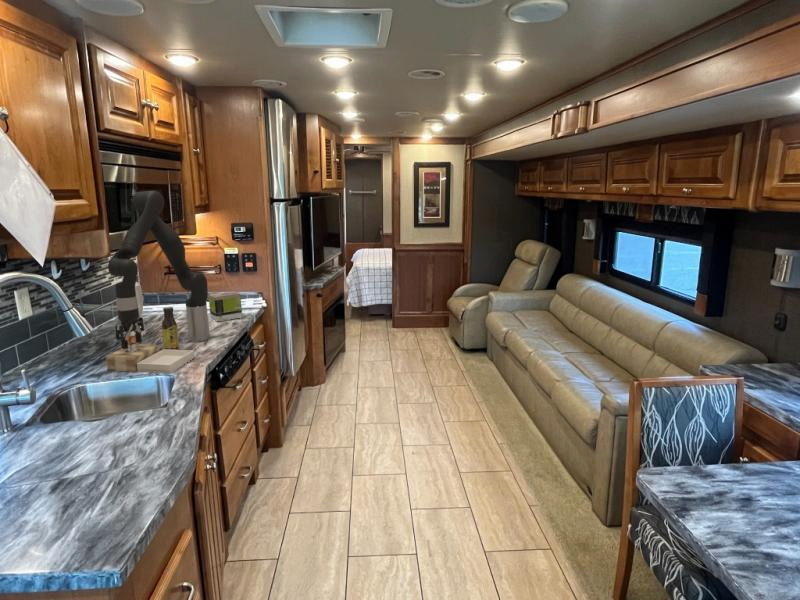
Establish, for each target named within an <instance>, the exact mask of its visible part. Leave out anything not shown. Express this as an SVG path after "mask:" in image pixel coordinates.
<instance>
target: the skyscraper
mask: <svg viewBox="0 0 800 600" xmlns="http://www.w3.org/2000/svg"><path fill="white" fill-rule="evenodd" d="M135 291H136V298H137V302H138V310H139V317H140V318H143V311H144V296H143V291H142V286H141V284H140V283H139V282H138V281H136V283H135ZM143 319H144V318H143ZM143 323H144V331H142V333H141V335H142V336H144V335H146V334H145V333H147V332H148V331H147V328H146V325H145V321H144V320H143ZM140 328H141V326H140ZM135 334H136V333H135V332H134V331H132V332H130V336H135ZM143 334H144V335H143Z"/></svg>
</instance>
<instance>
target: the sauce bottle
mask: <svg viewBox="0 0 800 600" xmlns="http://www.w3.org/2000/svg"><path fill="white" fill-rule="evenodd" d="M162 311H163V317H164V318H163V320H162V322H161V327H162V328H161V331H162V333H161V334H162V343H163V344H162V345H163V349H170V350H179V347H180V345H179V334H178V323H177V321H176V319H175V317H174V316H175V315H174V307H173V306H165V307H163V308H162Z"/></svg>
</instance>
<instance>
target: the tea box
mask: <svg viewBox="0 0 800 600" xmlns="http://www.w3.org/2000/svg"><path fill="white" fill-rule="evenodd" d="M208 302H209V305H208V306H209V313H210V319H211V318H212V319H213V320H215V321H222V322H224V321H223V320H228V321H230V320H229V319H234V318H239V317H242V318H243V309H242V297H241V293H239V292H237V291H233V290H232V291H226V292H219V293H213V294H211V293H210V294H208ZM212 319H211V320H212ZM213 320H212V321H213ZM234 320H235V319H234ZM215 321H214V322H215Z"/></svg>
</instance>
